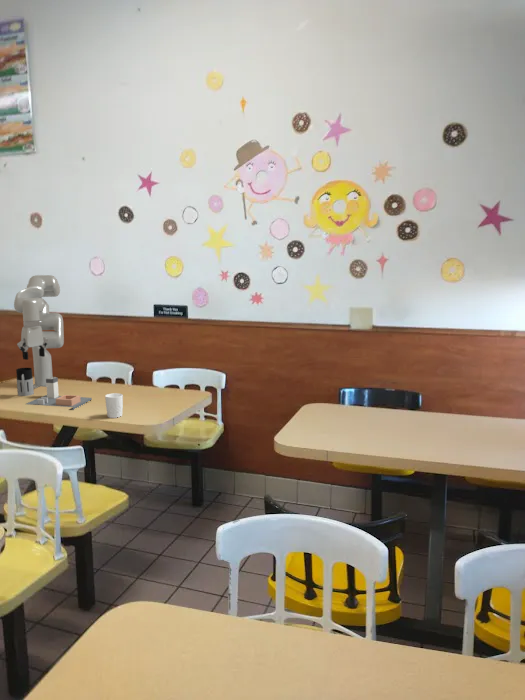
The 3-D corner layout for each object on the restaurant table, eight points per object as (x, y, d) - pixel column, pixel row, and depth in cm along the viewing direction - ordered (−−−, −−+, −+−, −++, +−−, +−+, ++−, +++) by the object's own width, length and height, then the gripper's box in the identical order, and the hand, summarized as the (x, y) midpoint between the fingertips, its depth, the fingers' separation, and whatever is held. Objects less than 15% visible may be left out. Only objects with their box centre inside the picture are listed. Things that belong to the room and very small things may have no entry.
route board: (45, 397, 286) (45, 389, 285) (91, 400, 281) (91, 392, 280) (25, 407, 269) (24, 398, 268) (73, 410, 264) (72, 401, 263)
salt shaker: (51, 395, 284) (50, 377, 282) (58, 396, 283) (57, 377, 282) (47, 397, 280) (45, 378, 278) (54, 398, 279) (53, 379, 278)
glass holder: (35, 394, 293) (33, 367, 291) (33, 400, 280) (31, 372, 277) (17, 395, 291) (15, 367, 288) (14, 402, 277) (12, 373, 275)
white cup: (103, 418, 251) (102, 397, 249) (110, 413, 259) (109, 392, 257) (119, 418, 250) (118, 397, 248) (126, 414, 258) (125, 393, 256)
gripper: (41, 321, 280) (43, 354, 283) (11, 325, 265) (14, 359, 268) (51, 322, 276) (53, 355, 279) (21, 326, 262) (24, 361, 264)
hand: (34, 357), depth 274 cm, fingers open, 9 cm apart
